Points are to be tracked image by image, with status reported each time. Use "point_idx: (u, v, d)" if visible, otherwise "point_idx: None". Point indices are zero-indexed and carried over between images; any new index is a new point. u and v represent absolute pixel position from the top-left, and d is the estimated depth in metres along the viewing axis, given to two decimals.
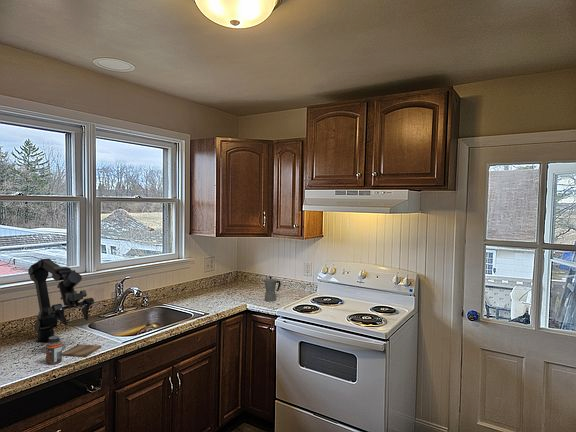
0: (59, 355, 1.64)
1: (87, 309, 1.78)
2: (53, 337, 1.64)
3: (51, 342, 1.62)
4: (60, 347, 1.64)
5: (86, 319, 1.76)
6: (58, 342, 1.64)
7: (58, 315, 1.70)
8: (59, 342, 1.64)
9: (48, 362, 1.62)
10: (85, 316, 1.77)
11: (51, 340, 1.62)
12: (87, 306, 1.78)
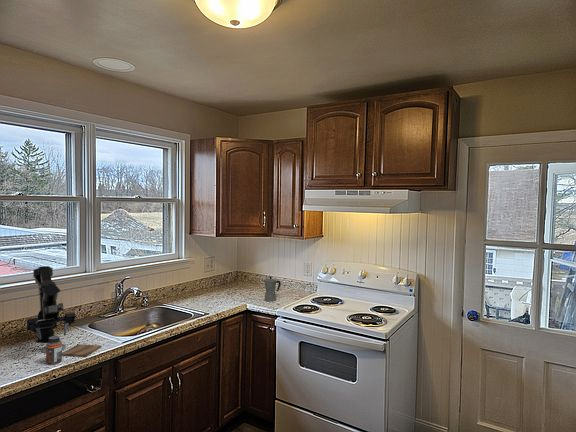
0: (59, 355, 1.64)
1: (66, 324, 1.72)
2: (53, 337, 1.64)
3: (51, 342, 1.62)
4: (60, 347, 1.64)
5: (64, 334, 1.70)
6: (58, 342, 1.64)
7: (35, 330, 1.67)
8: (59, 342, 1.64)
9: (48, 362, 1.62)
10: (64, 331, 1.71)
11: (51, 340, 1.62)
12: (66, 320, 1.72)
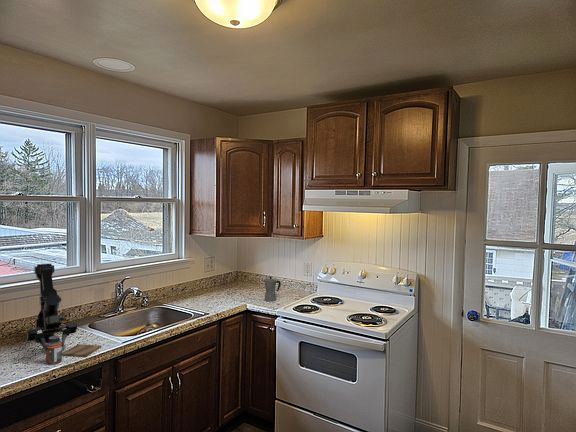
0: (59, 355, 1.64)
1: (64, 335, 1.68)
2: (53, 337, 1.64)
3: (51, 342, 1.62)
4: (60, 347, 1.64)
5: (62, 345, 1.65)
6: (58, 342, 1.64)
7: (40, 340, 1.64)
8: (59, 342, 1.64)
9: (48, 362, 1.62)
10: (62, 342, 1.66)
11: (51, 340, 1.62)
12: (64, 331, 1.68)
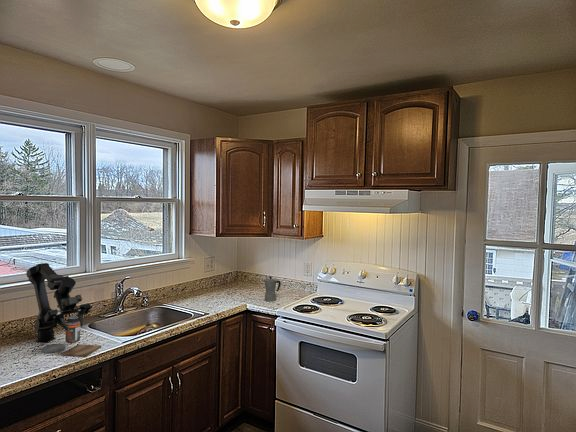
0: (79, 334, 1.72)
1: (81, 315, 1.76)
2: (72, 317, 1.72)
3: (72, 322, 1.70)
4: (79, 326, 1.73)
5: (81, 324, 1.74)
6: (78, 322, 1.72)
7: (58, 320, 1.71)
8: (79, 322, 1.73)
9: (69, 341, 1.70)
10: None
11: (72, 320, 1.70)
12: (81, 312, 1.76)
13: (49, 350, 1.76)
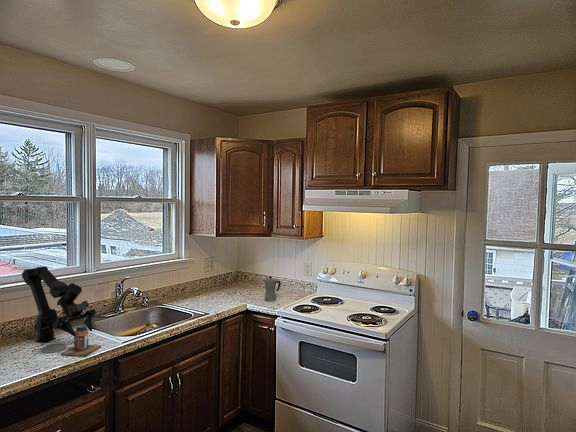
0: (87, 341, 1.78)
1: (90, 320, 1.82)
2: (81, 326, 1.76)
3: (81, 330, 1.75)
4: None
5: (91, 329, 1.80)
6: (86, 330, 1.77)
7: (65, 327, 1.74)
8: (87, 330, 1.78)
9: (79, 349, 1.74)
10: (89, 327, 1.81)
11: (81, 328, 1.75)
12: (89, 317, 1.82)
13: (49, 350, 1.76)
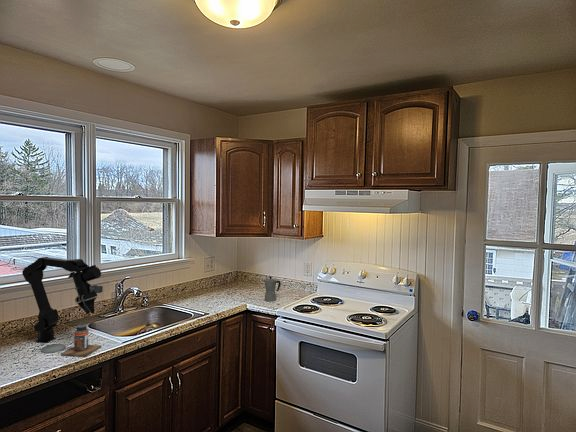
0: (87, 341, 1.78)
1: None
2: (81, 326, 1.77)
3: (81, 330, 1.75)
4: None
5: (89, 312, 1.89)
6: (86, 330, 1.78)
7: (87, 302, 1.81)
8: (87, 330, 1.78)
9: (79, 349, 1.74)
10: (87, 310, 1.89)
11: (81, 328, 1.75)
12: None
13: (49, 350, 1.76)
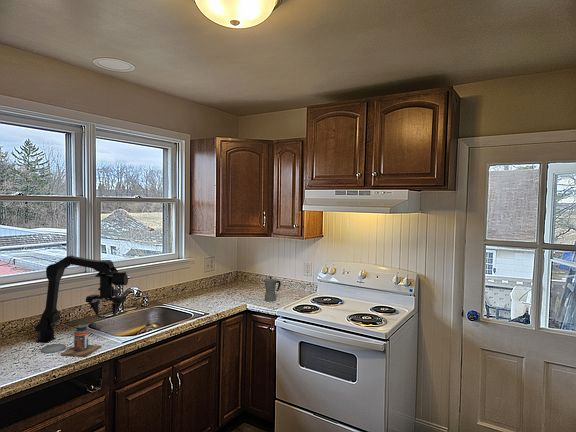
0: (87, 341, 1.78)
1: None
2: (81, 326, 1.77)
3: (81, 330, 1.75)
4: None
5: None
6: (86, 330, 1.78)
7: None
8: (87, 330, 1.78)
9: (79, 349, 1.74)
10: (97, 311, 1.92)
11: (81, 328, 1.75)
12: None
13: (49, 350, 1.76)
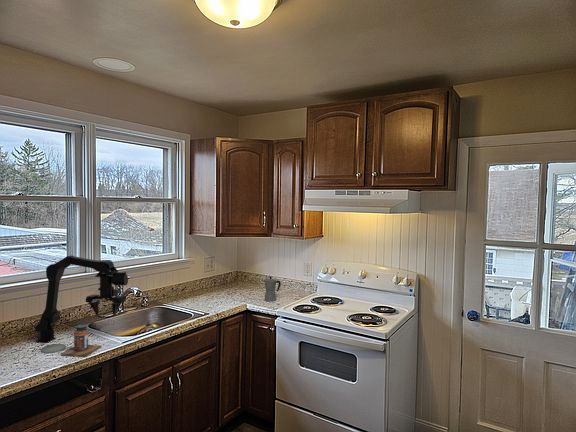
0: (87, 341, 1.78)
1: None
2: (81, 326, 1.77)
3: (81, 330, 1.75)
4: None
5: None
6: (86, 330, 1.78)
7: None
8: (87, 330, 1.78)
9: (79, 349, 1.74)
10: (97, 311, 1.92)
11: (81, 328, 1.75)
12: None
13: (49, 350, 1.76)
